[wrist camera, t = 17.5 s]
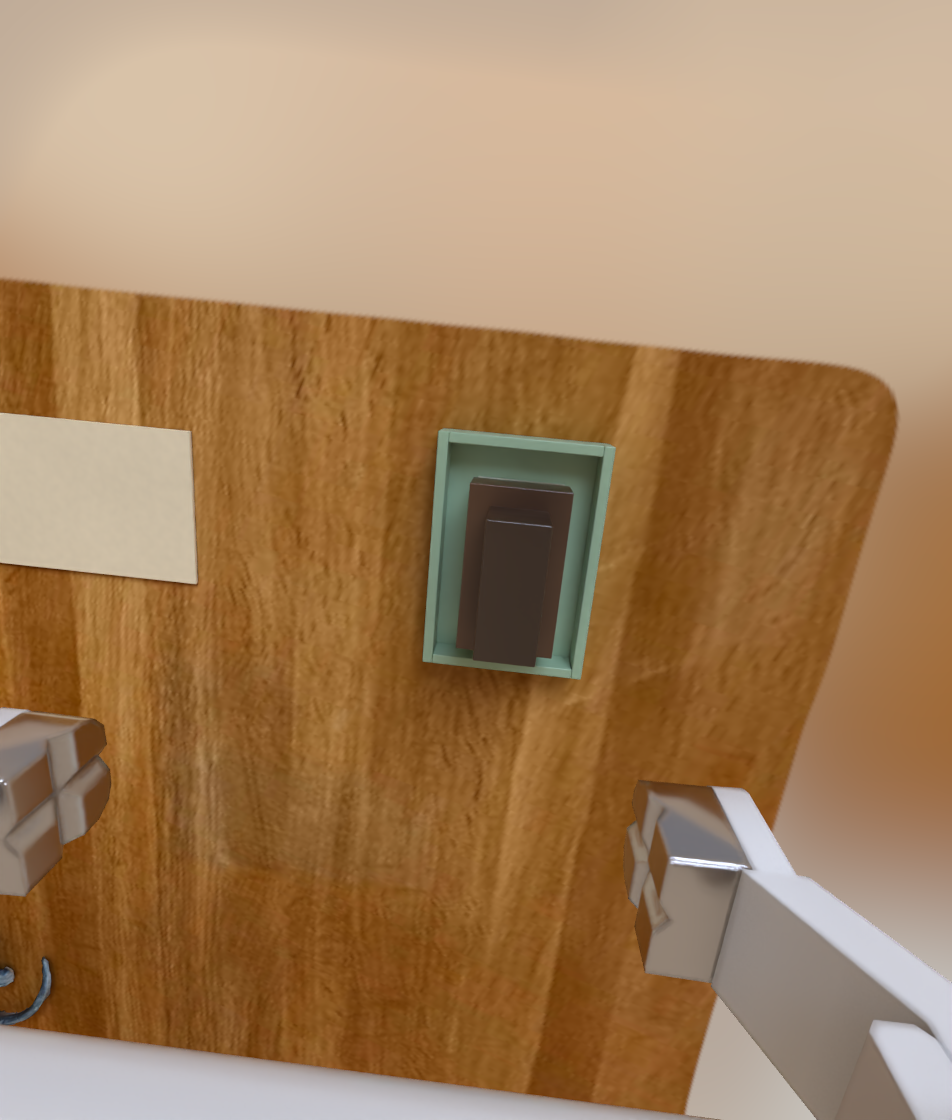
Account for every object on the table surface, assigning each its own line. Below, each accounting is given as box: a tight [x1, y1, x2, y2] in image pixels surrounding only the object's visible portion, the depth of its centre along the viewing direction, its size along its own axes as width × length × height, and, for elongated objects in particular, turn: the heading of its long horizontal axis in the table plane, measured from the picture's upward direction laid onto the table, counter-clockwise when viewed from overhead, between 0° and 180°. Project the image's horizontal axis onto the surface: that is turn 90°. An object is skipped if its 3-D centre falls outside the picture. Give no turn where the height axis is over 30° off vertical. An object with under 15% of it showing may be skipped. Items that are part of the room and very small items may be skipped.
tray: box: [422, 428, 616, 679], centre depth 29 cm, size 8×12×2 cm
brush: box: [456, 476, 574, 667], centre depth 26 cm, size 4×8×6 cm, turn 175°
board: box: [0, 413, 198, 584], centre depth 30 cm, size 12×8×1 cm, turn 85°
